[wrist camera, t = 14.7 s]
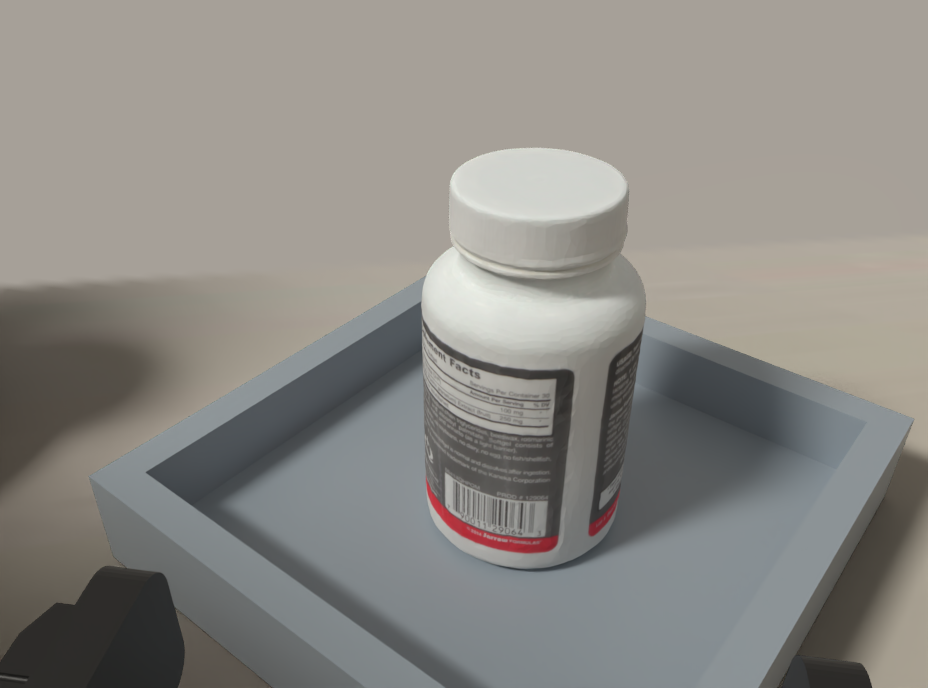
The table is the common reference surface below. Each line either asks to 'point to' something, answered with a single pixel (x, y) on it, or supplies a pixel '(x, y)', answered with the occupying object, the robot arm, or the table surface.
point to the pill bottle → (530, 357)
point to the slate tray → (479, 582)
